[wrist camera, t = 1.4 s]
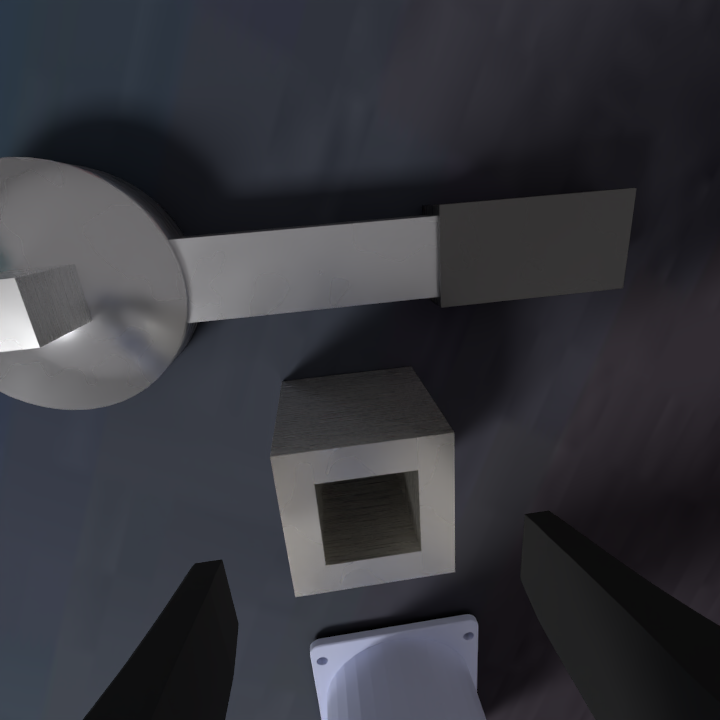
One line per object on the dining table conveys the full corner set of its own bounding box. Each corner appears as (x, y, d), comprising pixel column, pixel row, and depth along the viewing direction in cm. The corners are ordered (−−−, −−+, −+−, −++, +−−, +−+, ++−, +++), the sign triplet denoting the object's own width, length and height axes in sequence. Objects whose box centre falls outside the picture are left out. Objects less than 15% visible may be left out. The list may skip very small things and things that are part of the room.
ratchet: (579, 330, 16) (674, 374, 12) (13, 395, 14) (-108, 471, 10) (600, 124, 14) (730, 86, 9) (-75, 174, 12) (-281, 156, 8)
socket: (415, 474, 17) (455, 571, 13) (299, 490, 17) (295, 597, 12) (411, 366, 16) (454, 432, 11) (281, 381, 15) (270, 456, 11)
